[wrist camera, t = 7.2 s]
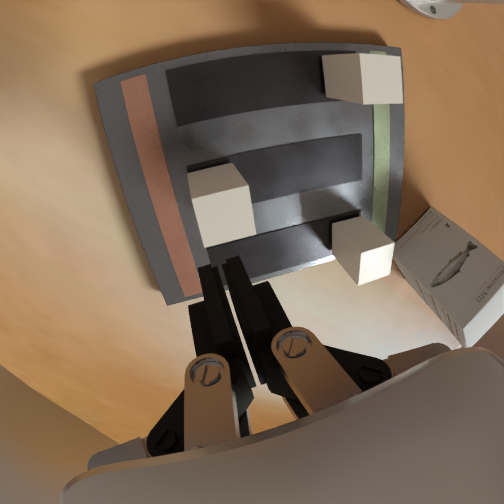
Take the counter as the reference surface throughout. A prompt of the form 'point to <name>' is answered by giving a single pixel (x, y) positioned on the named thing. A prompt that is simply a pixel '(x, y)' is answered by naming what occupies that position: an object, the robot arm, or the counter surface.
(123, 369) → the counter surface
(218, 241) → the block
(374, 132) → the panel
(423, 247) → the supplement box
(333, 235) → the block
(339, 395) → the robot arm
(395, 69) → the block
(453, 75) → the counter surface
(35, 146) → the counter surface
